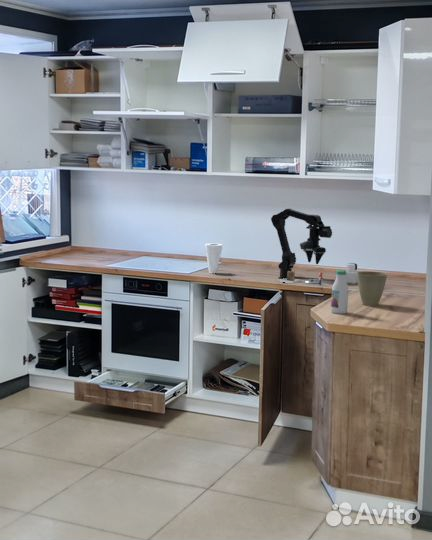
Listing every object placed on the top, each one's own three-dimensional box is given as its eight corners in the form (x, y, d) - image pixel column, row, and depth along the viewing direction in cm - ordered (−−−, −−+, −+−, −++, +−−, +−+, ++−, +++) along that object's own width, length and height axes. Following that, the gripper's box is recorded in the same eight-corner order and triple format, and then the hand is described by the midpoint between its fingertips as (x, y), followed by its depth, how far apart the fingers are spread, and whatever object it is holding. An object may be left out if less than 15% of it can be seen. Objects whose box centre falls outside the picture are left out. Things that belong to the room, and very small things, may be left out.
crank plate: (296, 284, 448) (296, 277, 447) (310, 281, 458) (310, 275, 458) (319, 287, 438) (319, 280, 437) (333, 285, 448) (333, 278, 447)
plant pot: (364, 300, 401) (365, 270, 399) (390, 304, 392) (392, 273, 390) (349, 304, 390) (351, 273, 387) (376, 308, 380) (378, 276, 378)
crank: (311, 284, 443) (311, 275, 442) (300, 281, 450) (300, 273, 449) (327, 282, 450) (327, 273, 450) (315, 280, 457) (316, 271, 457)
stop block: (286, 282, 451) (287, 272, 450) (287, 281, 455) (288, 271, 454) (293, 282, 450) (294, 272, 449) (294, 281, 454) (294, 271, 453)
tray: (279, 282, 452) (279, 279, 452) (289, 281, 459) (289, 278, 459) (292, 284, 446) (292, 281, 446) (301, 283, 453) (301, 280, 453)
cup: (201, 272, 482) (202, 243, 479) (217, 271, 486) (218, 243, 484) (208, 275, 472) (209, 245, 470) (224, 274, 477) (225, 245, 474)
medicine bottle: (347, 282, 462) (348, 262, 460) (358, 283, 458) (360, 263, 456) (343, 283, 455) (344, 263, 454) (354, 285, 452) (355, 264, 450)
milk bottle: (345, 311, 372) (347, 269, 369) (348, 314, 364) (351, 272, 361) (329, 310, 372) (331, 269, 369) (332, 313, 364) (334, 271, 361)
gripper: (294, 235, 460) (293, 261, 462) (309, 238, 442) (308, 265, 445) (311, 235, 464) (310, 261, 466) (326, 238, 447) (325, 265, 449)
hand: (313, 263), depth 456 cm, fingers open, 9 cm apart
